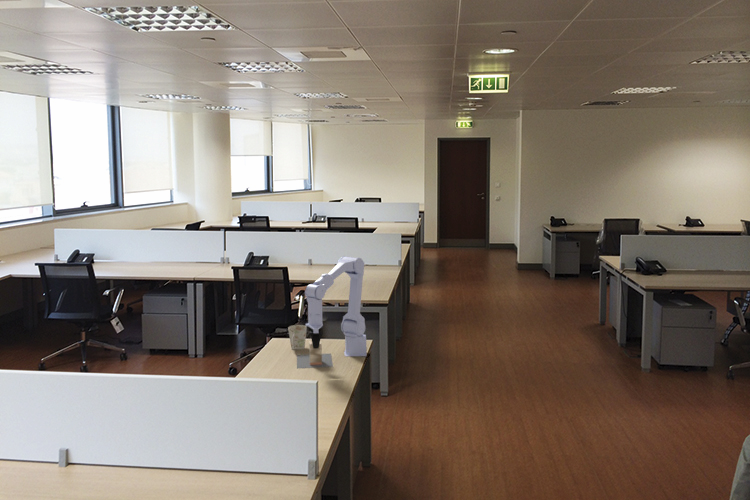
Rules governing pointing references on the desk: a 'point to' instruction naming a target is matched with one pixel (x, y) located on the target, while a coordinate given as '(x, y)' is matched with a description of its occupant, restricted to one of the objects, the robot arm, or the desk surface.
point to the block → (315, 354)
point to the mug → (297, 336)
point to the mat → (304, 362)
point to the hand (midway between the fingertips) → (315, 345)
